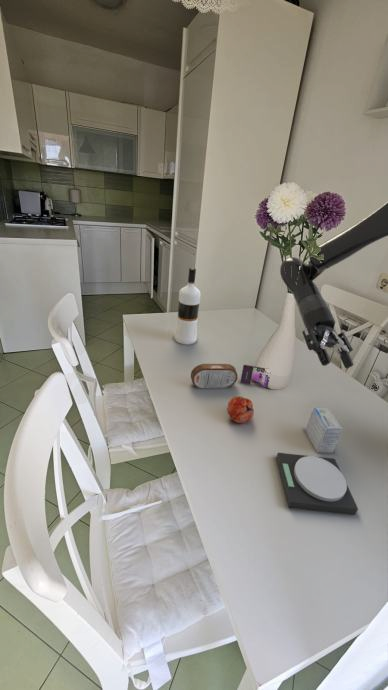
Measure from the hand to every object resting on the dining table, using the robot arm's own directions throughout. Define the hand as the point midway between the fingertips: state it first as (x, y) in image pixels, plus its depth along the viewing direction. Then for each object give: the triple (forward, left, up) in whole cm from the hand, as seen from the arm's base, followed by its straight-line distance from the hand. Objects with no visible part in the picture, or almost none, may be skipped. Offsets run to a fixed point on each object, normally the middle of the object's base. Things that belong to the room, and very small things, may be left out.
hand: (338, 365), depth 77 cm
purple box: (+15, -19, -21) cm, 32 cm away
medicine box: (+1, +6, -21) cm, 22 cm away
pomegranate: (+22, 0, -21) cm, 30 cm away
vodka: (+40, -45, -21) cm, 64 cm away
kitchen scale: (+7, +20, -21) cm, 30 cm away
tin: (+29, -14, -21) cm, 39 cm away
